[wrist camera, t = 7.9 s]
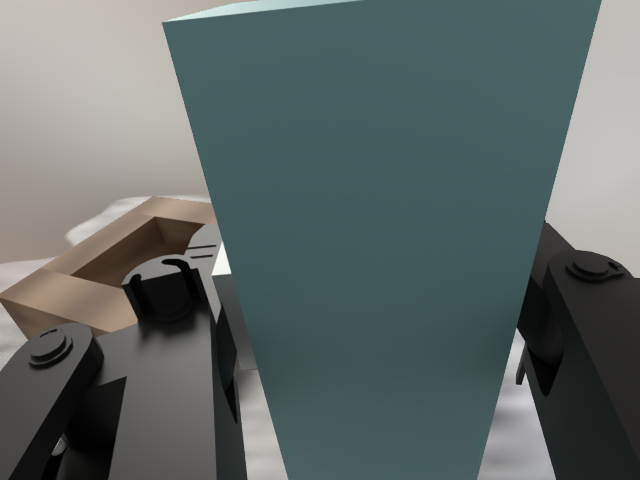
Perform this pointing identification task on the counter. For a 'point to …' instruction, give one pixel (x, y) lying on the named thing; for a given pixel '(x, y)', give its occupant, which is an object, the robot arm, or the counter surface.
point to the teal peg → (381, 208)
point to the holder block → (104, 269)
